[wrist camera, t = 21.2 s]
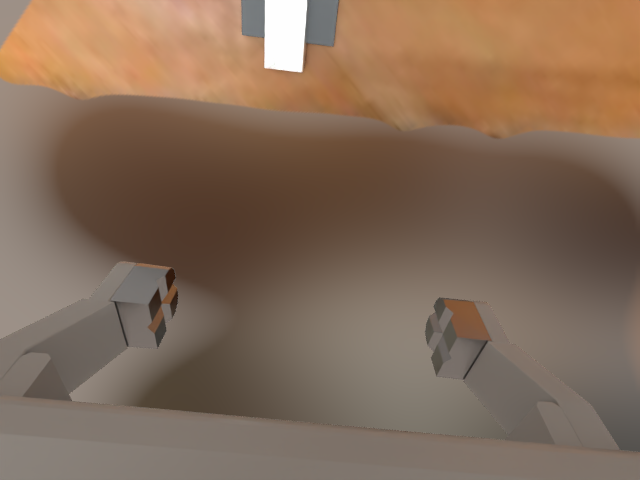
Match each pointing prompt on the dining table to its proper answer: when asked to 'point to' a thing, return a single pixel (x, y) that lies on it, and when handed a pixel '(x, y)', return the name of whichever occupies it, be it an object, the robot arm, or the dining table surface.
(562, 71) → the dining table surface
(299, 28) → the grey bar
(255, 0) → the mat
